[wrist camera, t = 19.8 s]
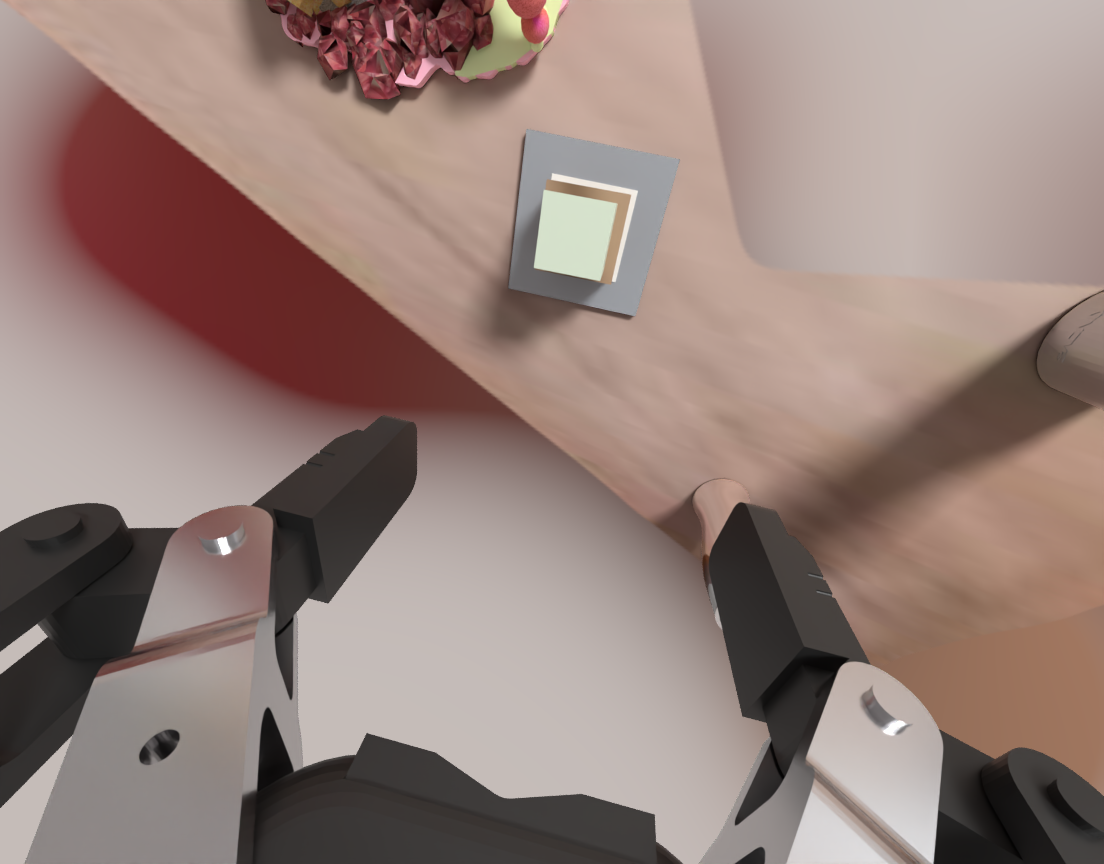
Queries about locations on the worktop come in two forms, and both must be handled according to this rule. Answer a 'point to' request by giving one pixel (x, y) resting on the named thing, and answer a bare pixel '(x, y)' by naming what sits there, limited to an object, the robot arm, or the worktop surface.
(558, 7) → the candy landscape model
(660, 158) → the pad
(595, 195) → the walnut block
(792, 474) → the worktop surface
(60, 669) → the robot arm
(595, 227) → the sage cube
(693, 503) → the beer glass
